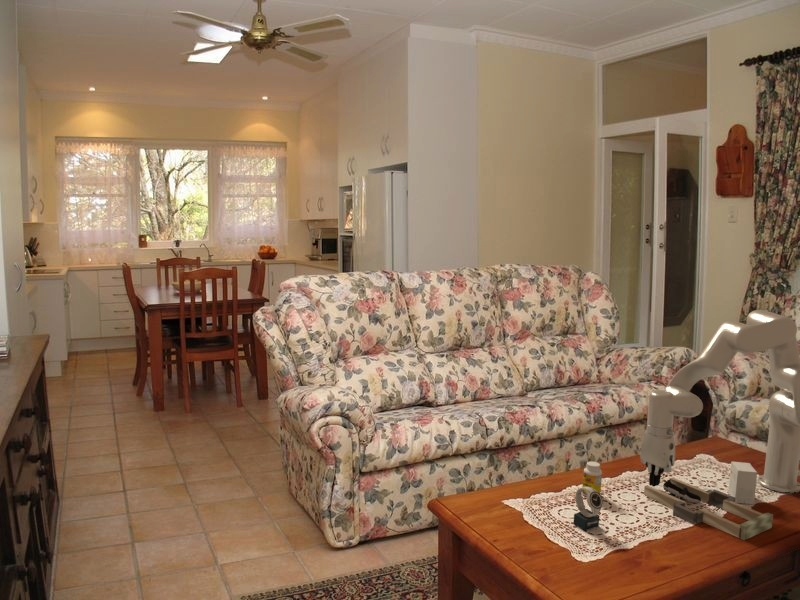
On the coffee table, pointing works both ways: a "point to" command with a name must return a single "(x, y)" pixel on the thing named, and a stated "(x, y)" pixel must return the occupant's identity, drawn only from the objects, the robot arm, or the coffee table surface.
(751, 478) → the small box
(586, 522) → the watch
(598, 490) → the supplement bottle
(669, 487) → the gaming controller
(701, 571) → the coffee table surface
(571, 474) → the coffee table surface
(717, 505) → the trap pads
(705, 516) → the channel
